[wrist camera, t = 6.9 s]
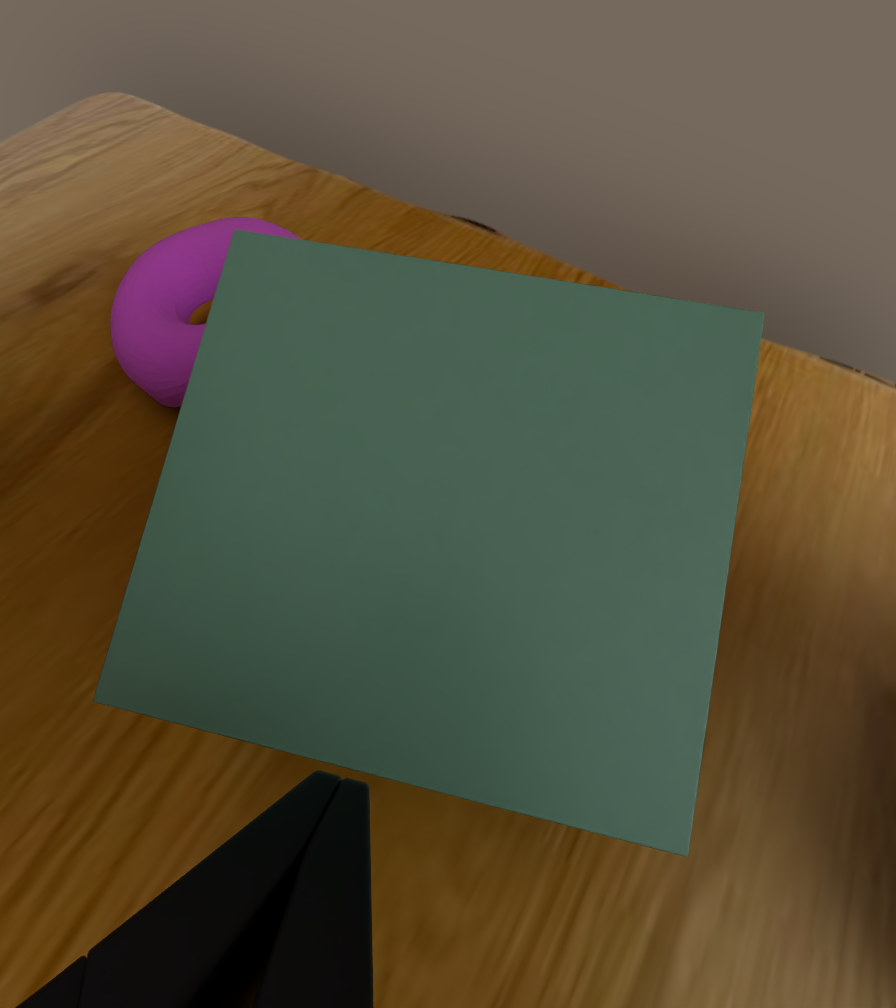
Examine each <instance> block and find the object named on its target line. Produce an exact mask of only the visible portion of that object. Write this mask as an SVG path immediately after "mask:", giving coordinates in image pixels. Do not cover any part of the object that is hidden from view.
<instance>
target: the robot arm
mask: <svg viewBox="0 0 896 1008" xmlns="http://www.w3.org/2000/svg"><path fill="white" fill-rule="evenodd" d="M16 1008H373V961H372V908H371V855H370V802H369V786H368V784H367V783H364V782H360V781H357V780H353V779H349V778H345V779H343V780H342V779H341V778H340V776H338V775H334V774H330V773H327V772H323V771H316V772H314V773H312V774H311V775H310V776H308V777H307V778H306V779H305V780H303V781H302V782H301V783H300V784H298V785H297V786H296V787H294V788H293V789H292V790H291V791H289V792H288V793H287V794H286V795H284V796H283V797H282V798H281V799H279V800H278V801H277V802H276V803H274V804H273V805H272V806H271V807H269V808H268V809H267V810H266V811H264V812H263V813H262V814H260V815H259V816H258V817H257V818H255V819H254V820H253V821H252V822H250V823H249V824H248V825H247V826H245V827H244V828H243V829H242V830H240V831H239V832H238V833H237V834H235V835H234V836H233V837H232V838H230V839H229V840H228V841H226V842H225V843H224V844H223V845H221V846H220V847H219V848H218V849H216V850H215V851H214V852H213V853H211V854H210V855H209V856H208V857H206V858H205V859H204V860H203V861H201V862H200V863H199V864H198V865H196V866H195V867H194V868H192V869H191V870H190V871H189V872H187V873H186V874H185V875H184V876H182V877H181V878H180V879H179V880H177V881H176V882H175V883H174V884H172V885H171V886H170V887H169V888H167V889H166V890H165V891H163V892H162V893H161V894H160V895H158V896H157V897H156V898H155V899H153V900H152V901H151V902H150V903H148V904H147V905H146V906H145V907H143V908H142V909H141V910H140V911H138V912H137V913H136V914H135V915H133V916H132V917H131V918H129V919H128V920H127V921H126V922H124V923H123V924H122V925H121V926H119V927H118V928H117V929H116V930H114V931H113V932H112V933H111V934H109V935H108V936H107V937H106V938H104V939H103V940H102V941H101V942H99V943H98V944H97V945H95V946H94V947H93V948H92V949H90V951H89V952H88V956H87V958H86V957H85V956H81V957H80V958H79V959H77V960H76V961H75V962H74V963H72V964H71V965H70V966H69V967H67V968H66V969H65V970H64V971H62V972H61V973H60V974H59V975H57V976H56V977H55V978H53V979H52V980H51V981H50V982H48V983H47V984H46V985H45V986H43V987H42V988H41V989H39V990H38V991H37V992H35V993H34V994H33V995H31V996H30V997H29V998H28V999H26V1000H25V1001H24V1002H22V1003H21V1004H20V1005H18V1006H17V1007H16Z"/></svg>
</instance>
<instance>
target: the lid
mask: <svg viewBox="0 0 896 1008" xmlns="http://www.w3.org/2000/svg"><path fill="white" fill-rule="evenodd" d="M763 322H764V313H763V312H757V311H751V310H744V309H738V308H731V307H725V306H719V305H712V304H706V303H700V302H693V301H687V300H681V299H675V298H668V297H662V296H656V295H649V294H643V293H637V292H630V291H624V290H618V289H611V288H605V287H599V286H592V285H586V284H580V283H573V282H567V281H561V280H554V279H548V278H542V277H535V276H529V275H523V274H516V273H510V272H504V271H497V270H491V269H485V268H478V267H472V266H466V265H459V264H453V263H447V262H440V261H434V260H428V259H421V258H415V257H409V256H402V255H396V254H389V253H383V252H377V251H370V250H364V249H358V248H351V247H345V246H339V245H332V244H326V243H320V242H313V241H307V240H301V239H294V238H288V237H282V236H275V235H269V234H263V233H256V232H250V231H244V230H237V229H235V230H234V232H233V235H232V238H231V242H230V245H229V248H228V252H227V255H226V258H225V262H224V265H223V268H222V272H221V275H220V278H219V282H218V285H217V288H216V292H215V295H214V298H213V302H212V305H211V308H210V312H209V315H208V318H207V322H206V325H205V328H204V332H203V335H202V338H201V342H200V345H199V348H198V352H197V355H196V358H195V362H194V365H193V368H192V372H191V375H190V378H189V382H188V385H187V388H186V392H185V395H184V398H183V402H182V405H181V408H180V412H179V415H178V418H177V422H176V425H175V428H174V432H173V435H172V438H171V442H170V445H169V448H168V452H167V455H166V458H165V462H164V465H163V468H162V472H161V475H160V478H159V482H158V485H157V488H156V492H155V495H154V498H153V502H152V505H151V509H150V512H149V515H148V519H147V522H146V525H145V529H144V532H143V535H142V539H141V542H140V545H139V549H138V552H137V555H136V559H135V562H134V565H133V569H132V572H131V575H130V579H129V582H128V585H127V589H126V592H125V595H124V599H123V602H122V605H121V609H120V612H119V615H118V619H117V622H116V625H115V629H114V632H113V635H112V639H111V642H110V645H109V649H108V652H107V655H106V659H105V662H104V665H103V669H102V672H101V675H100V679H99V682H98V685H97V689H96V692H95V695H94V699H93V701H94V702H96V703H100V704H104V705H108V706H112V707H116V708H119V709H123V710H127V711H131V712H135V713H138V714H142V715H146V716H150V717H154V718H158V719H161V720H165V721H169V722H173V723H177V724H180V725H184V726H188V727H192V728H196V729H200V730H203V731H207V732H211V733H215V734H219V735H223V736H226V737H230V738H234V739H238V740H242V741H245V742H249V743H253V744H257V745H261V746H265V747H268V748H272V749H276V750H280V751H284V752H287V753H291V754H295V755H299V756H303V757H307V758H310V759H314V760H318V761H322V762H326V763H330V764H333V765H337V766H341V767H345V768H349V769H352V770H356V771H360V772H364V773H368V774H372V775H375V776H379V777H383V778H387V779H391V780H394V781H398V782H402V783H406V784H410V785H414V786H417V787H421V788H425V789H429V790H433V791H437V792H440V793H444V794H448V795H452V796H456V797H459V798H463V799H467V800H471V801H475V802H479V803H482V804H486V805H490V806H494V807H498V808H502V809H505V810H509V811H513V812H517V813H521V814H524V815H528V816H532V817H536V818H540V819H544V820H547V821H551V822H555V823H559V824H563V825H566V826H570V827H574V828H578V829H582V830H586V831H589V832H593V833H597V834H601V835H605V836H609V837H612V838H616V839H620V840H624V841H628V842H631V843H635V844H639V845H643V846H647V847H651V848H654V849H658V850H662V851H666V852H670V853H673V854H677V855H681V856H685V857H686V856H688V853H689V846H690V839H691V831H692V824H693V817H694V810H695V803H696V796H697V789H698V782H699V775H700V768H701V761H702V754H703V747H704V739H705V732H706V725H707V718H708V711H709V704H710V697H711V690H712V683H713V676H714V669H715V662H716V655H717V647H718V640H719V633H720V626H721V619H722V612H723V605H724V598H725V591H726V584H727V577H728V570H729V563H730V555H731V548H732V541H733V534H734V527H735V520H736V513H737V506H738V499H739V492H740V485H741V478H742V470H743V463H744V456H745V449H746V442H747V435H748V428H749V421H750V414H751V407H752V400H753V393H754V386H755V378H756V371H757V364H758V357H759V350H760V343H761V335H762V329H763Z"/></svg>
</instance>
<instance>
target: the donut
mask: <svg viewBox="0 0 896 1008" xmlns="http://www.w3.org/2000/svg"><path fill="white" fill-rule="evenodd" d="M235 229H237V230H244V231H250V232H256V233H263V234H269V235H275V236H282V237H288V238H294V239H300V238H298V237H297V236H296V235H294V234H293V233H291V232H289V231H287V230H286V229H284V228H282V227H280V226H277V225H275V224H273V223H270V222H267V221H264V220H260V219H255V218H248V217H233V218H226V219H219V220H216V221H212V222H209V223H205V224H202V225H198V226H194V227H191V228H188V229H186V230H183V231H180V232H178V233H175V234H173V235H170V236H169V237H167V238H165V239H163V240H161V241H159V242H157V243H155V244H154V245H153V246H151V247H150V248H149V249H147V250H146V251H145V252H143V253H142V254H141V255H140V256H139V257H138V258H137V259H136V261H135V262H134V263H133V264H132V265H131V267H130V268H129V269H128V271H127V272H126V274H125V276H124V278H123V279H122V281H121V283H120V285H119V287H118V289H117V292H116V295H115V298H114V302H113V306H112V311H111V337H112V345H113V349H114V352H115V355H116V358H117V360H118V362H119V364H120V366H121V367H122V369H123V371H124V372H125V373H126V375H127V376H128V377H129V378H130V379H131V380H132V381H133V382H134V383H135V384H137V385H138V386H139V387H140V388H141V389H143V390H144V391H145V392H146V393H148V394H149V395H150V396H152V397H153V398H154V399H155V400H156V401H157V402H158V403H159V404H161V405H164V406H167V407H174V408H175V407H179V406H181V405H182V402H183V398H184V395H185V392H186V388H187V385H188V382H189V378H190V375H191V372H192V368H193V365H194V362H195V358H196V355H197V352H198V348H199V345H200V342H201V338H202V335H203V332H204V328H205V325H206V324H205V323H206V322H207V318H208V315H209V312H210V308H211V305H212V302H213V298H214V295H215V292H216V288H217V285H218V282H219V278H220V275H221V272H222V268H223V265H224V262H225V258H226V255H227V252H228V248H229V245H230V242H231V238H232V235H233V232H234V230H235Z"/></svg>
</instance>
